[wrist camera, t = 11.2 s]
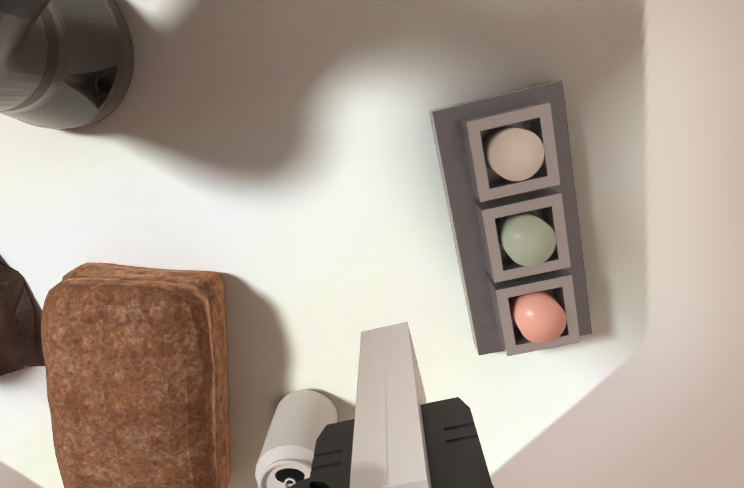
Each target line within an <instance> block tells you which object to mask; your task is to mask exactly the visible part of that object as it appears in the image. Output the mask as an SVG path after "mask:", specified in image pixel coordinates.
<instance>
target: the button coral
mask: <svg viewBox="0 0 744 488" xmlns="http://www.w3.org/2000/svg"><path fill="white" fill-rule="evenodd" d="M508 302H509V308H510V314H511V316H512V318H513V319H514V321H515V323H516V324H517V326H518V328H519V329H520V331H521V333H522V334H523V336H524V337H525V338H526V339H527V340H529V341H531V342H534V343H539V344H543V343H549V342H551V341H553V340H555V339H557V338H558V337H559V336H560V335H561V334H562V333H563V331H564V329H565V327H566V322H567V319H566V314H565V312H564V310H563V309H562V308H561V306H560V305H559V304H558V303H557V302H556V301H555V300H554V298H553V297H552V296H551V295H550V294H549V293H548V291H547V290H544V291H539V292H534V293H529V294H524V295H519V296H514V297H509V299H508Z"/></svg>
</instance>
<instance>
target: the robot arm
mask: <svg viewBox="0 0 744 488" xmlns="http://www.w3.org/2000/svg"><path fill="white" fill-rule="evenodd" d="M132 70H133V48H132V42H131V37H130V33H129V30H128V27H127V25H126V22H125V20H124V18H123V16H122V14H121V12H120V10H119V8H118V7H117V5H116V4H115V2H114V1H113V0H0V113H2V114H5V115H7V116H10V117H12V118H15V119H18V120H20V121H23V122H25V123H28V124H31V125H34V126H38V127H43V128H50V129H66V128H77V127H83V126H87V125H90V124H93V123H96V122H98V121H100V120H101V119H103V118H105V117H106V116H107V115H109V114H110V113H111V112H112V111H113V110H114V109H115V108H116V107H117V106H118V105H119V103H120V102H121V100H122V99H123V97H124V95H125V94H126V91H127V89H128V87H129V84H130V80H131V76H132ZM311 469H312V471H311V472H310V477H309V478H306V479H303V480H301V481H298V482H296V483H295V484H293V485H292V486H290V487H289V488H494V487H493V485H492V483H491V479H490V476H489V472H488V469H487V465H486V462H485V458H484V455H483V452H482V448H481V445H480V441H479V438H478V434H477V431H476V428H475V424H474V421H473V417H472V414H471V410H470V408H469V407H468V406H467V405H466V404H465V403H464V402H463V401H462V400H461V399H460V398H459V397H457V398H452V399H447V400H442V401H437V402H431V403H426V397H425V392H424V388H423V384H422V380H421V376H420V372H419V368H418V363H417V359H416V355H415V351H414V347H413V343H412V339H411V335H410V331H409V327H408V322H405V323H401V324H396V325H391V326H387V327H382V328H377V329H372V330H368V331H363V332H361V343H360V356H359V369H358V382H357V396H356V409H355V419H353V420H348V421H343V422H338V423H333V424H328V425H326V426H325V428H324V429H323V431H322V432H321V434H320V435H319V437H318V438H317V439H316V445H315V450H314V458H313V461H312V466H311Z"/></svg>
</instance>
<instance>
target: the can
mask: <svg viewBox="0 0 744 488" xmlns="http://www.w3.org/2000/svg"><path fill="white" fill-rule="evenodd" d="M333 423H338V414H337V410H336V408H335V406H334V404H333V403H332V401H331V400H329V399H328V398H327V397H326V396H325V395H323V394H320V393H318V392H316V391H311V390H299V391H294V392H292V393H290V394H288V395H286V396H285V397H284V398H283V399H282V400H281V401H280V402H279V404H278V406H277V408H276V410H275V413H274V416H273V419H272V422H271V425H270V428H269V430H268V433H267V436H266V439H265V442H264V445H263V448H262V451H261V454H260V456H259V459H258V462H257V465H256V471H255V478H256V481H257V485H258V488H289V487H290V486H292V485H293V484H295V483H296V482H298V481H301V480H303V479H306V478H309V477H310V472H311V471H312V469H311V466H312V461H313V458H314V450H315V445H316V439H317V438H318V437H319V435H320V434H321V432H322V431H323V429H324V428H325V426H326V425H328V424H333Z"/></svg>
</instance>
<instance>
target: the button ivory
mask: <svg viewBox="0 0 744 488" xmlns="http://www.w3.org/2000/svg"><path fill="white" fill-rule="evenodd" d="M483 153H484V159H485V164H486V165H487V167H488V168H489V169H491V170H492V171H494V172H495V173H497V174H498V175H500V176H502V177H503V178H505V179H507V180H510V181H522V180H525V179H528V178H530V177H531V176H533V175H534V174H535V173H536V172H537V171H538V170H539V168H540V167H541V165H542V163H543V159H544V147H543V144H542V142H541V140H540V138H539V137H538V136H537V135H536V134H534V133H533V132H531V131H529V130H525V129H520V128H515V127H510V126H504V127H500V128H497V129H495V130H494V131H492V132H491V133H490V134H489V135H488V136H487V137H486V139H485V141H484V143H483Z"/></svg>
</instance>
